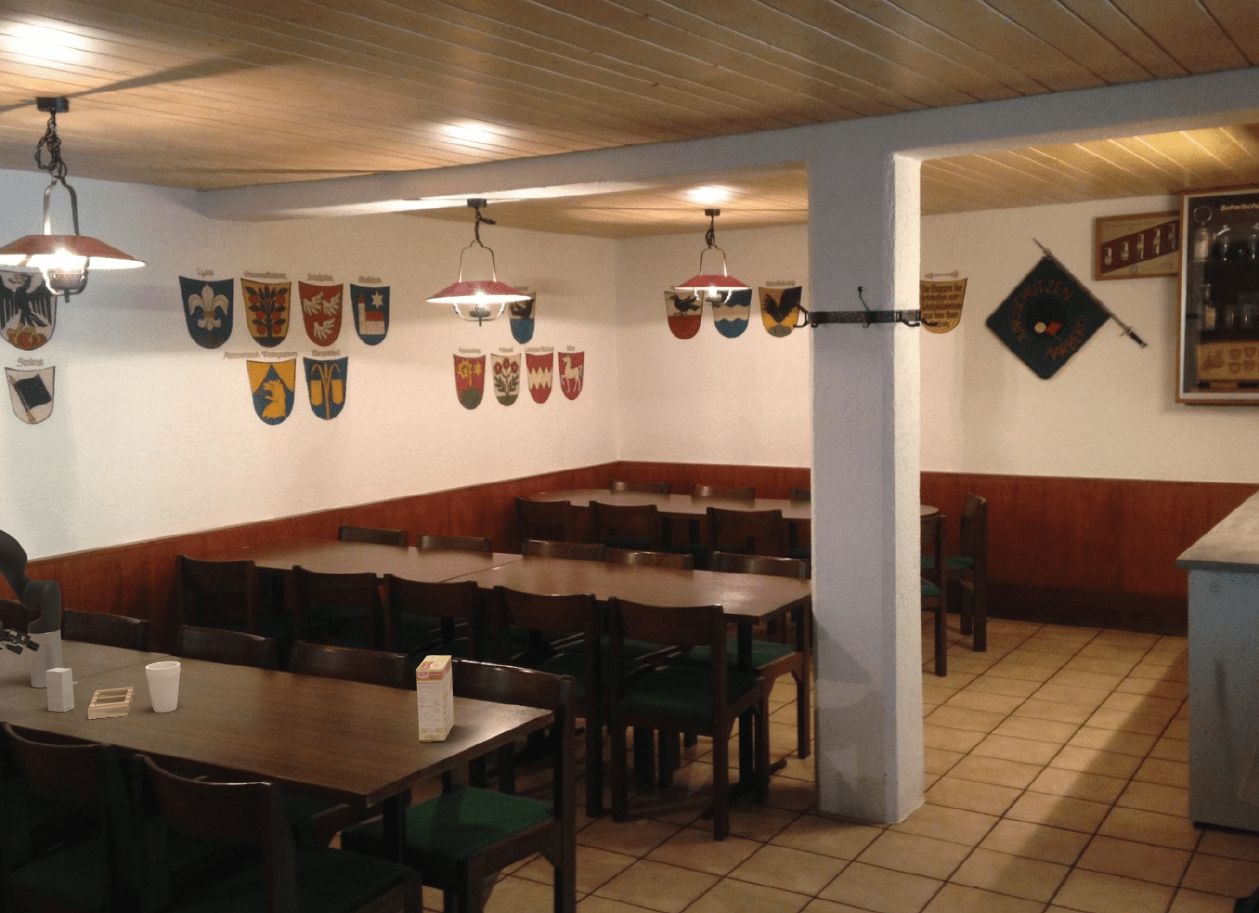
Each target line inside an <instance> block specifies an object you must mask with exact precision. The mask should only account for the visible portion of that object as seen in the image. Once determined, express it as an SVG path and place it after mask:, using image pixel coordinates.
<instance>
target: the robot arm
mask: <svg viewBox="0 0 1259 913" xmlns="http://www.w3.org/2000/svg"><path fill="white" fill-rule="evenodd" d="M27 565H28V554H27V552H26V550H25V549H24V548H23V546H22V545H21V544H20V542H19V541H18V540H17V539H16V538H15V537H14V536H12V535H11V534H9V533H7V532H6V531H5V530H3V529H0V574H1V576H2V577H3V578H4V580H6V582H7V584H8V585H9V586H10V589H11V590H12V591H13V593H14V595H15V596H16V598H17V600H18V602H19V603H20V605H22V606H21V607H23V608H25V609H26V610H32V611H34V610H37V611H41V616H40V617H39V618H38V619H35V620H33V621H30V622H29V623H28V625H27V634H26V633H24V632H22V631H19V630H18V629H16V628H14V627H11V629H7V628H6V629H5V628H3V624H4V623H3V622H2V620H0V651H2V650H3V649H4V650H5V651H10V652H12V653H14V654H16V655H22V653H23V651H24V648H26V649H28V652H29V654H28V655H29V665H30V666H29V668H30V669H29V670H30V682H31V683H30V684H31V687H32V688H39V689H40V688H47V683H46V671H47V670H51V669H54V668H64V666H63V651H62V636H61V634H62V633H61V621H62V590H61V587H60V584H59V582H57V581H56V580H52V579H51V580H50V579H48V580H45V579H44V580H37V579H35V580H34V579H32V578H31V577H29V575H28V574H27V573H26V568H27Z"/></svg>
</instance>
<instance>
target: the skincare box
mask: <svg viewBox="0 0 1259 913" xmlns="http://www.w3.org/2000/svg"><path fill="white" fill-rule="evenodd" d="M72 670H73V669H72V668H65V667H63V668H54V669H51V670H47V671H46V683H47V687H46V694H47V710H48V712H57V713H58V712H59V713H60V712H61V713H65V712H69V711H71V710H74V709H75V698H74V696H75V695H74V682H73V671H72Z"/></svg>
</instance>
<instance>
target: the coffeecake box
mask: <svg viewBox="0 0 1259 913" xmlns="http://www.w3.org/2000/svg"><path fill="white" fill-rule="evenodd" d="M452 665H453V664H452V655H448V654H447V655H435V654H434V655H432V654H431V655H426V657H425V658H424V659H423V661H422V662H420V664H419V665H418V666H417V668H416V669H415V675H416V677H415V678H416V693H417V695H416V696H417V713H418V714H417V719H418V740H445V739H446V737H447V735H448V734H449V735H450V733H451V732H450V730H451V728H452V727H453V728H454V726H455V719H454V718H455V717H454V716H455V714H454V694H453V693H454V692H453V668H452ZM453 725H454V726H453ZM453 728H452V729H453ZM451 731H452V730H451ZM449 732H450V733H449ZM449 735H448V736H449ZM447 738H448V737H447ZM446 740H447V739H446ZM446 740H445V741H446Z"/></svg>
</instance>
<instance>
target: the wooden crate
mask: <svg viewBox="0 0 1259 913" xmlns="http://www.w3.org/2000/svg"><path fill="white" fill-rule="evenodd" d="M134 697H135V691H134V686H126V687H116V688H107V689H97V690H95V691H94V694H93V695H92V699H91V701H90V703H89V706H88V709H87V720H88V719H96V718H105V719H107V718H106V717H114V718H118V717H117V716H123V717H125V716H124V715H128V714H129V715H130V711H131V709H130V708H132V705H133V702H134ZM132 701H133V702H132ZM131 704H132V705H131ZM96 720H97V719H96Z"/></svg>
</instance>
